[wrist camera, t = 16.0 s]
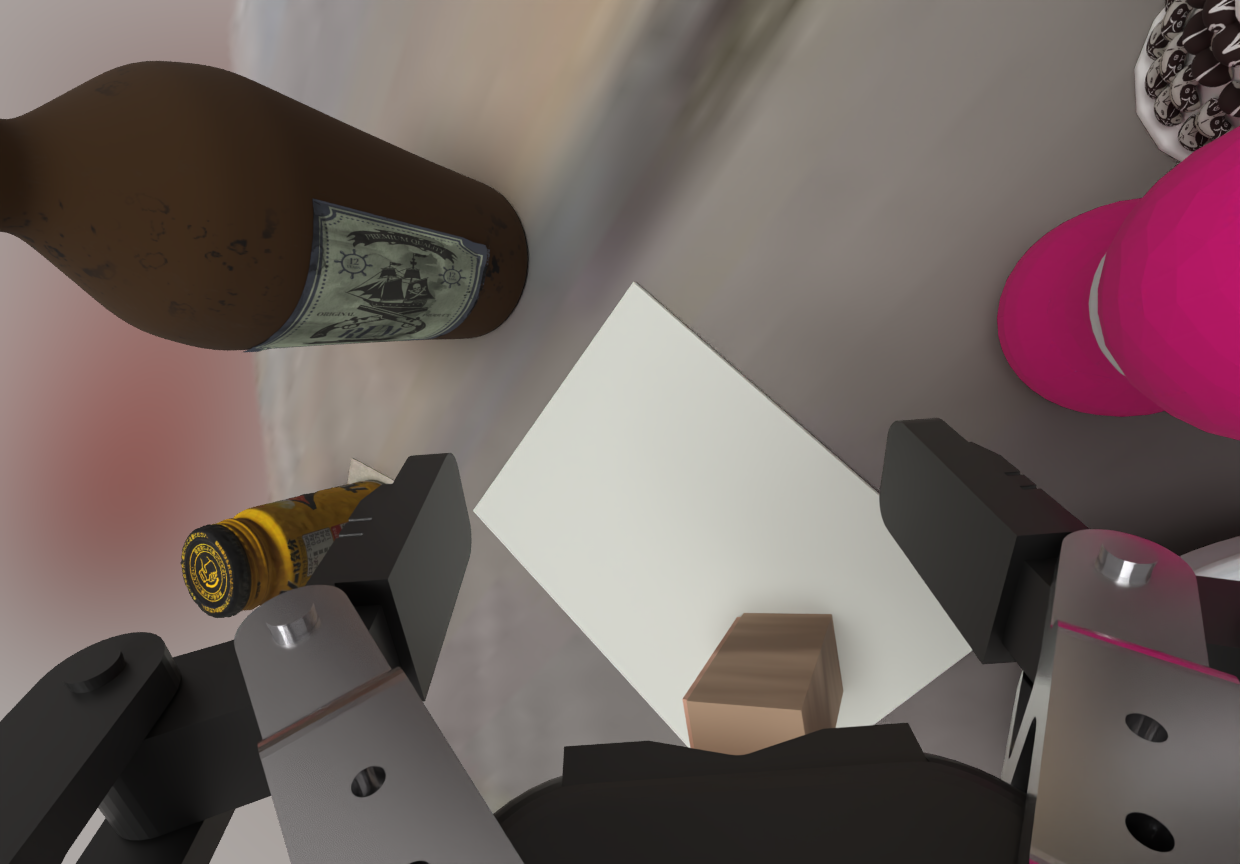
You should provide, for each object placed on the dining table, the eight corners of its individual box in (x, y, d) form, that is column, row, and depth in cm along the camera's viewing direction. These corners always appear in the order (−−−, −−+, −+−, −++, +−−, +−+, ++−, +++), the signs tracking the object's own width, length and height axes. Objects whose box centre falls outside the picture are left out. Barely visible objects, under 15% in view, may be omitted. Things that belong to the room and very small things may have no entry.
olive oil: (378, 275, 41) (-260, 193, 19) (455, 134, 37) (-244, -184, 15) (476, 383, 39) (-123, 435, 16) (571, 246, 35) (-57, 67, 12)
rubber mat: (636, 282, 33) (633, 282, 33) (1016, 612, 27) (1017, 616, 27) (477, 509, 40) (473, 510, 40) (753, 812, 34) (751, 816, 34)
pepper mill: (948, 305, 27) (1010, 227, 9) (1121, 183, 24) (1723, -294, 6) (1059, 439, 26) (1376, 650, 8) (1256, 329, 23) (2489, 274, 5)
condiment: (353, 457, 45) (175, 493, 34) (440, 505, 41) (274, 561, 31) (337, 545, 46) (164, 605, 36) (420, 597, 43) (257, 679, 33)
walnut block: (738, 613, 33) (679, 700, 25) (831, 613, 30) (801, 710, 22) (749, 685, 33) (695, 795, 25) (843, 691, 31) (817, 813, 23)
